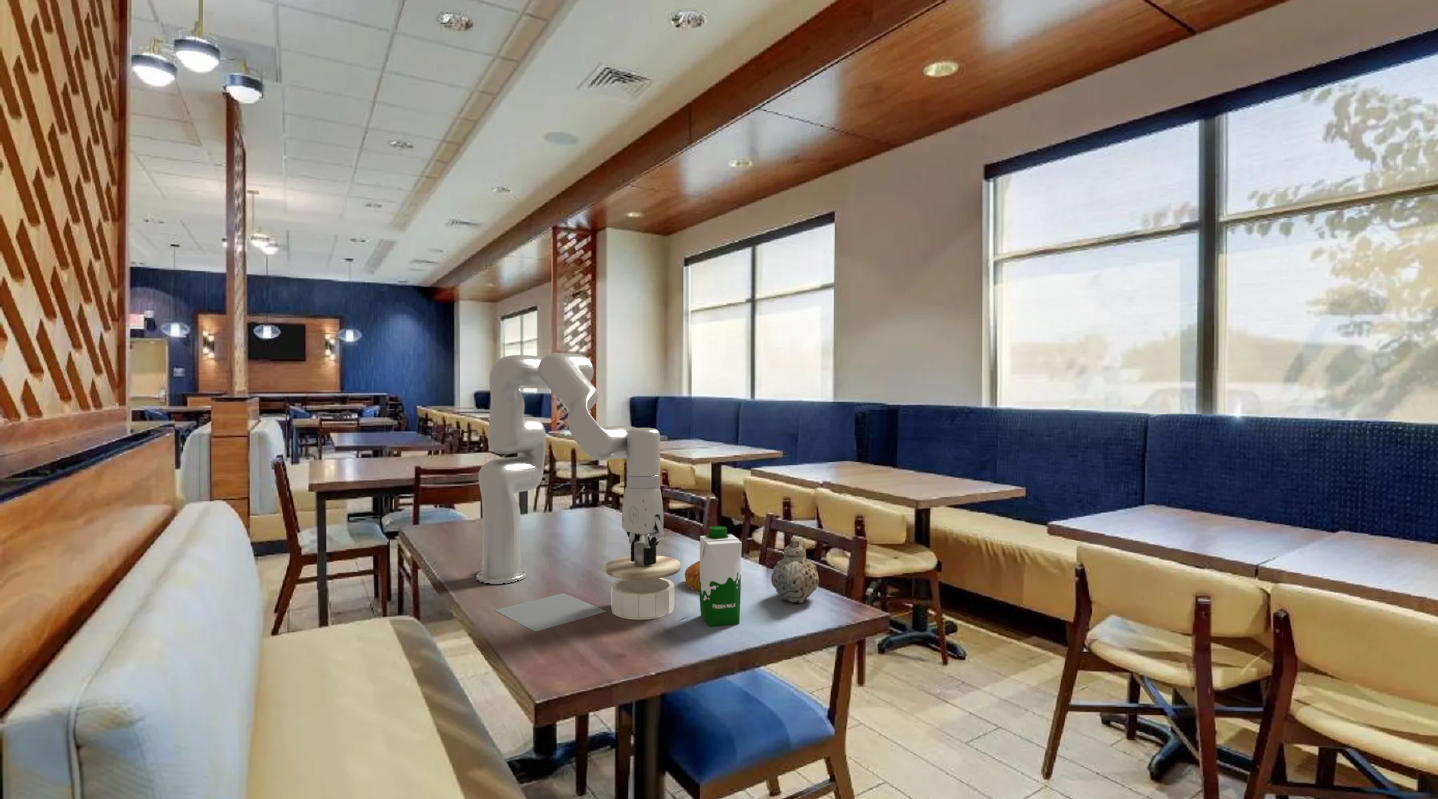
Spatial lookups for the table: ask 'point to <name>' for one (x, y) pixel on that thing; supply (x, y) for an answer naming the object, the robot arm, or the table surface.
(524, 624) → the mat
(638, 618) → the bowl
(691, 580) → the croissant
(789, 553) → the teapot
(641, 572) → the lid
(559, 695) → the table surface
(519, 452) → the robot arm
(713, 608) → the milk carton
